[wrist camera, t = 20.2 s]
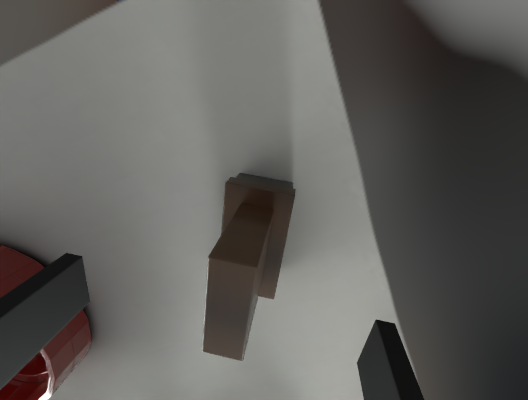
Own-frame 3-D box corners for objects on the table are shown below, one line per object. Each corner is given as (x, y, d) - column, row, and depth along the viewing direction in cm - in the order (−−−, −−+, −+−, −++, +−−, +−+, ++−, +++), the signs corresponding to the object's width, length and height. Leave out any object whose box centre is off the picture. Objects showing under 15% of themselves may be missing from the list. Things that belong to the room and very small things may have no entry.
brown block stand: (237, 169, 19) (183, 226, 11) (296, 180, 19) (289, 247, 10) (227, 263, 22) (180, 362, 14) (277, 274, 22) (260, 382, 14)
